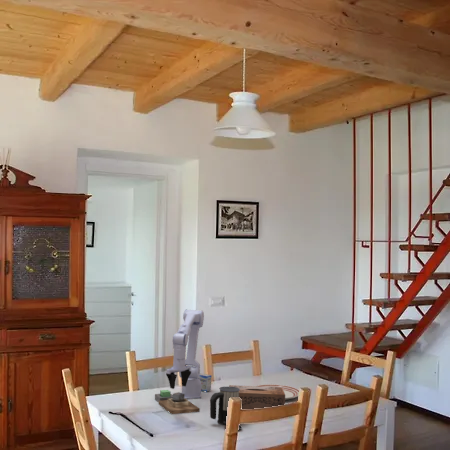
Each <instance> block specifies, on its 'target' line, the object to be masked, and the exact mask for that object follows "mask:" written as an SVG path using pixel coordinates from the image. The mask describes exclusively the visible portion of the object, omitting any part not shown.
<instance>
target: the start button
mask: <svg viewBox="0 0 450 450" xmlns="http://www.w3.org/2000/svg"><path fill="white" fill-rule="evenodd" d="M159 394H160V396H162V397H170V394H172V393H171V391H170V390H169V389H160V393H159Z"/></svg>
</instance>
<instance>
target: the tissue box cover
mask: <svg viewBox="0 0 450 450" xmlns="http://www.w3.org/2000/svg"><path fill="white" fill-rule="evenodd" d="M228 387H236V388H239V389H240V390H239V397H240V398H241V399H242V409H254V408H264V407H272V406H278V405H284V404H285V405H286V400H285V393H284V391H283V389H282V387H261V386H257V385H237V384H235V385H234V384H233V385H231V384H229V385H228Z"/></svg>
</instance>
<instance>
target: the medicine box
mask: <svg viewBox="0 0 450 450" xmlns="http://www.w3.org/2000/svg"><path fill="white" fill-rule="evenodd" d="M212 376H213V375H211V374H206V373H200V376H199V378H198V379H200V381H201V391H206V392H205V393H208V392H207V391H210V390H211V391H212ZM211 391H210V392H211Z"/></svg>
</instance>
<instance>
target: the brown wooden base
mask: <svg viewBox="0 0 450 450" xmlns="http://www.w3.org/2000/svg"><path fill="white" fill-rule="evenodd" d="M158 405H159V406H160V407H162V408H163V409H164V410H165V411H166V412H168V411H169V412H170V413H172V414H171V415H177V414H189V413H200V408H199V407H198V406H196V405H195V404H193V403H192V402H191V401H190V400H188V399H185V398H184V402H173V401H172V398H171V399H168V400H163V401H159V402H158ZM169 412H168V413H169ZM170 413H169V414H170Z"/></svg>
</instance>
